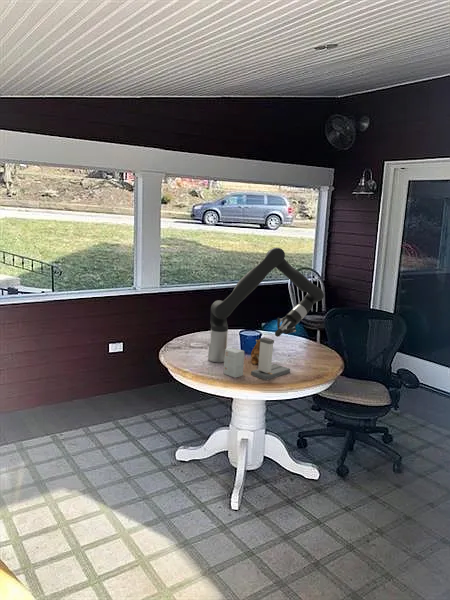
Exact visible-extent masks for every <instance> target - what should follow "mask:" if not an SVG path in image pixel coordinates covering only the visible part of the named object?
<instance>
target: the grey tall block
mask: <svg viewBox="0 0 450 600" xmlns="http://www.w3.org/2000/svg"><path fill="white" fill-rule="evenodd" d="M259 340H260V352H259V363H258V364H257V365H258V368H257V369H258V370H260V371H263V372H265V373H269V372H271V365H273V364H272V363H273V350H274V344H275V340H274V339H271V338H268V337H265V336H264V337H260V338H259Z"/></svg>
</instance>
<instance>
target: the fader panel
mask: <svg viewBox="0 0 450 600" xmlns="http://www.w3.org/2000/svg"><path fill="white" fill-rule="evenodd" d="M290 372H291V368H290V367H289V368H288V367H286V366H283V365H279V364H277V363H274V364H272V365H271V372H269V373H265V372H263V371H260V370H258V368H257V369H254V370H251V371H250V375H251V376H253V377H256V378H259V379H261V380H264V381H267V380H271V379H273V378H277V377H279V376H282V375H283V376H284V375H286V374H289V373H290Z"/></svg>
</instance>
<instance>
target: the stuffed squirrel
mask: <svg viewBox="0 0 450 600" xmlns="http://www.w3.org/2000/svg"><path fill="white" fill-rule="evenodd" d="M255 342H256V343H255V345H254V347H253V348H252V350H251V353H250V358H251V359H250V360H251V361H250V362H251V364H252V365H255V366H256V365H259V352H260V339H255Z"/></svg>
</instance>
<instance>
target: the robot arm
mask: <svg viewBox="0 0 450 600" xmlns="http://www.w3.org/2000/svg"><path fill="white" fill-rule="evenodd" d="M285 258H286V254H285V251H284V250H283V248H280V247H274V248H271V249H269V250H268V251H266V255H265V257H264V258H263V259H262V260H261V262H259V263H258V264H257V265H255V266H254V267H253V268H251V269H250V270H249V271H248V272H247V273H245V274H244V275H243V276H242V277H241V278H240V279H239V280H238V282H237V283H236V284H235V287H234V288H233V290H232V292H231V293H230V294H229V295H228V296H227V297H226V298H225V299H224V300H220V299H219V300H218V299H217V300H215V301H214V302H213V303H212V304H211V306H210V319H209V321H210V323H209V324H210V340H209V341H210V342H209V343H208V351H207V354H208V355H207V361H210V362H213V363H224V358H225V349H228V347H227V346H228V333H229V331H228V330H229V325H228V321H227V318H228V317H229V316H231V314H232V313H233V312H234V310H235V309H236V308H237V307H238V306H239V304H240V303H242V302H243V301H244V300H245V299H246V298H247V297H248V296H249V295H250V294H252V292H253V291H254V290H255V289H256V288H258V286H259V285H260V284H261V283H262V282H263V280H265V278H267V276H268V275H269V274H270V272H272V271H273V270H274V269H275V268H276V269H277V270H278V271H280V272H281V273H282V274H283V275H285V277H286V278H288V279H289V280H290V282H292V284H294V286H295V287H297V288H298V290H300V291H301V292H302V293H303V292H304V293H306V295H305V296H304V297H303V298H302V300H301V301H299V303H297V304H296V305H295V306H294V307H293V308H292V309H291V310H290V311H289V312H288V313H286V315H285V316H283V317H282V318H280V317H277V321H276V323H277V324H276V326H277V330H276V331H275V332H274V335H275V336H276V338H277V337H281V335H282V334H285V335H287V334H293V333H296V332H297V329H296V327H297V325H298V324H299V323H300V322H301V321H302V320H303V319H304V318H305V316H307V314H308V313H309V312H310V311H311V310H312V309H313V306H314V305H315V304H316V303H317V302H320V301H322V300H323V299H324V297H325V293H324V292H323V290H322V289H321V288H320V287H319V286H318V285H316V284H314V283H312V282H311V281H310V280H309V279H308V278H307V277H306V276H305V275H304V274H303V273H302V272H300V271H299V270H298V269H296V268H295V267H294V266H292V265H291V264H290V263H289V262H288V261H287V260H286V259H285Z"/></svg>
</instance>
